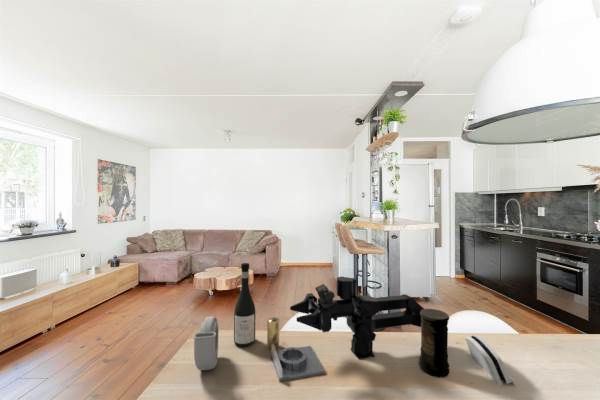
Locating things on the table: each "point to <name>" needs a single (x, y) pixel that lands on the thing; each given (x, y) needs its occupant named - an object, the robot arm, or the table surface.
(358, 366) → the table surface
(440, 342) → the container
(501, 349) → the table surface
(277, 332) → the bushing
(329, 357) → the table surface
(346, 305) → the robot arm
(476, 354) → the grey curved piece
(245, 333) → the wine bottle
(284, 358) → the jig
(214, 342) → the grey curved holder
